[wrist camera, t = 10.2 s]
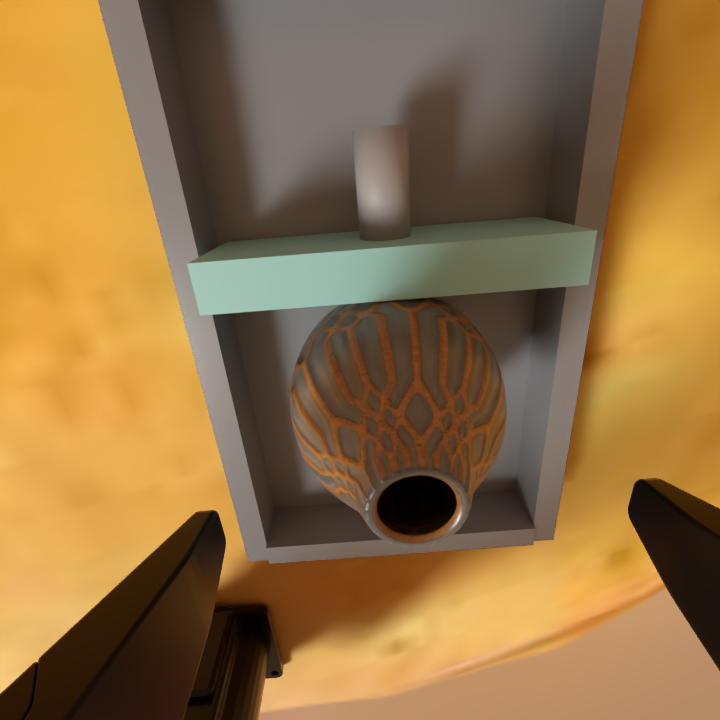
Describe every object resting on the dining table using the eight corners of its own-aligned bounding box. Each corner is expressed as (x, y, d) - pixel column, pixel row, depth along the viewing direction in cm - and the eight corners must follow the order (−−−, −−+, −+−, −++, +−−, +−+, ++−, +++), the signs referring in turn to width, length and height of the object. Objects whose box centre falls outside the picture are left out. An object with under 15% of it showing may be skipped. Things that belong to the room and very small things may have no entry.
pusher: (532, 258, 15) (588, 284, 12) (235, 282, 15) (199, 315, 12) (545, 120, 13) (618, 100, 10) (208, 149, 14) (155, 139, 10)
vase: (481, 272, 16) (617, 374, 8) (456, 424, 19) (537, 613, 11) (301, 266, 15) (248, 365, 7) (304, 421, 18) (268, 612, 10)
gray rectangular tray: (528, 495, 21) (585, 597, 16) (260, 515, 21) (232, 622, 16) (600, -77, 12) (783, -261, 7) (131, -35, 12) (-26, -186, 7)
